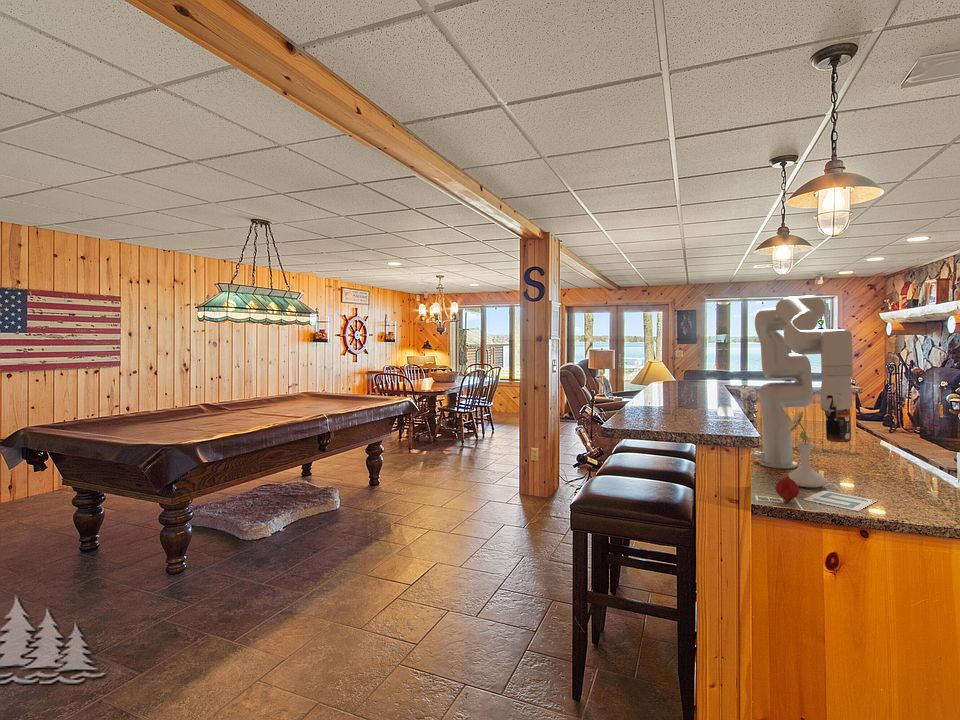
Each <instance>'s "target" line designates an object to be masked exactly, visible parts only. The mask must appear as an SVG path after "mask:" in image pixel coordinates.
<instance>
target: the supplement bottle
mask: <svg viewBox="0 0 960 720" xmlns="http://www.w3.org/2000/svg"><path fill="white" fill-rule="evenodd" d="M831 410H836V409H835V408H831ZM834 415H835V413H834ZM838 421H840V434H839V435H834V434H827V432H826V431H825V434H826V435H825V437H826V440H827V441H828V442H833V443H850V442H851V440H852V439H851V438H852V427H851V424H852V423H851V411H850V412H849V411H848V410H847V409H845V410H842V411H839V417H838Z"/></svg>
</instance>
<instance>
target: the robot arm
mask: <svg viewBox="0 0 960 720" xmlns="http://www.w3.org/2000/svg"><path fill="white" fill-rule="evenodd" d="M825 312H826V305H825V301H824V300H823V299H822V298H821V297H819V296H817V295H799V296H798V295H797V296H787V297H784V298H781V299H780V300H779V301H778V302H776V305H775V307H770V308H764V309H762V310H760V311H758V312H757V313H756V314H755V316H754V328H755V331H756V334H757V337H758V340H759V343H760V356H761V357H760V358H761V370H762V374H763V375H764V377H765V378H767V379H769V380H771V379H774V380H782V379H783V380H785V379H786V380H788V379H791V380H794V382H793V381H792V382H785V381H782V382H779V381H778V382H768V383H765V384H763V385H761V386H760V388H759V392H758V396H759V400H760V406H761V416H762V418H761V419H762V443H763V444H762V445H763V446H762V449H763V450H762V451H758V450H757V451H756V450H753V451H754V452H753V457H755V458H760V459H759V461H758V464H759V465H761V466H764V467H767V468H773V469H795V468H798V462H796V461H794V460H793V434H792V433H793V431H792V432H789V430H790V429H789V430H788V428H789V427H790V426H791V425H790V422H792V418H791V416H790V415H789V413H787V412H786V410H785V409H786V408H806V407H807V408H808V407H809V406H810V405H811V404H812V402H813V396H814V395H813V393H814V392H813V391H814V390H813V379H812V378H813V377H812V364H811V362H810V359H809V358H808V357H807V355H820V363H821V364H820V365H821V370H820V371H821V383H820V384H821V385H820V387H821V388H820V405H819V406H820V409H821V410H823V412H824V415H825V429H826V430H825V433H826V432H827V434H834V435H839V434H840V421H838V417H839V411H842V410H845V409H847V410H848V411H849V412H850V413H851V408H852V405H853V388H852V387H853V386H852V382H851V381H852V377H854V371H853V370H854V368H853V367H854V364H853V356H854V355H853V333H852V331H851V330H848V329H833V328H832V329H815V328H817V325H818V324H819V323H818V322H819V321H820V320H821V319H822V318H823V317H824V315H825ZM778 331H783V332H784V333H783V335H782V334H781V333H779V332H778ZM787 347H789V349H790V350H791V351H792V352H793V353H788V351H787ZM831 408H835V409H836V410H831ZM834 413H835V415H834Z"/></svg>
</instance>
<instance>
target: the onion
mask: <svg viewBox="0 0 960 720" xmlns="http://www.w3.org/2000/svg"><path fill="white" fill-rule="evenodd" d="M775 491H776V493H777V495H778V496H779V497H780V498H781V499H783V500H784V501H785V502H786V501H787V503H789V502H792V500H794V499H795V498H797V497H798V495H799V493H800V488H799V486H798V485H797V484H796V483H795V482H794V481H793V480H792V479H790V477H789V475H788V474H786V475H785V476H784V477H782V478H780V479H779V481H778V482H777V483H776V486H775Z"/></svg>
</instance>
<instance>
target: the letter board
mask: <svg viewBox="0 0 960 720" xmlns="http://www.w3.org/2000/svg"><path fill="white" fill-rule="evenodd" d="M805 500H806V501H807V502H810V501H812V502H811V503H815V502H816V504H819V503H821V504H820V505H824V504H825V505H824V506H829V505H830V506H831V507H834V506H835V508H838V507H839V509H844V510H849V511H852V512H853V511H854V512H857V511H858V512H860V511H862V510H864V509H866V508H868V507H870V506H872V505H874V504H875V503H874V502H876V503H878V502H877V501H878V500H875V499H871V498H865V497H861V496H855V495H849V494H845V493H844V494H843V493H840V492H839V493H838V492H833V491H829V490H821V491H819V492H817V493H814V494H812V495H810V496H808V497H805V498H802V501H805ZM872 500H873V501H874V502H872ZM806 501H805V502H806ZM867 501H868V502H867ZM870 501H871V502H870ZM873 503H874V504H873ZM871 504H872V505H871ZM869 505H870V506H869ZM867 506H868V507H867ZM865 507H866V508H865ZM863 508H864V509H863Z"/></svg>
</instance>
